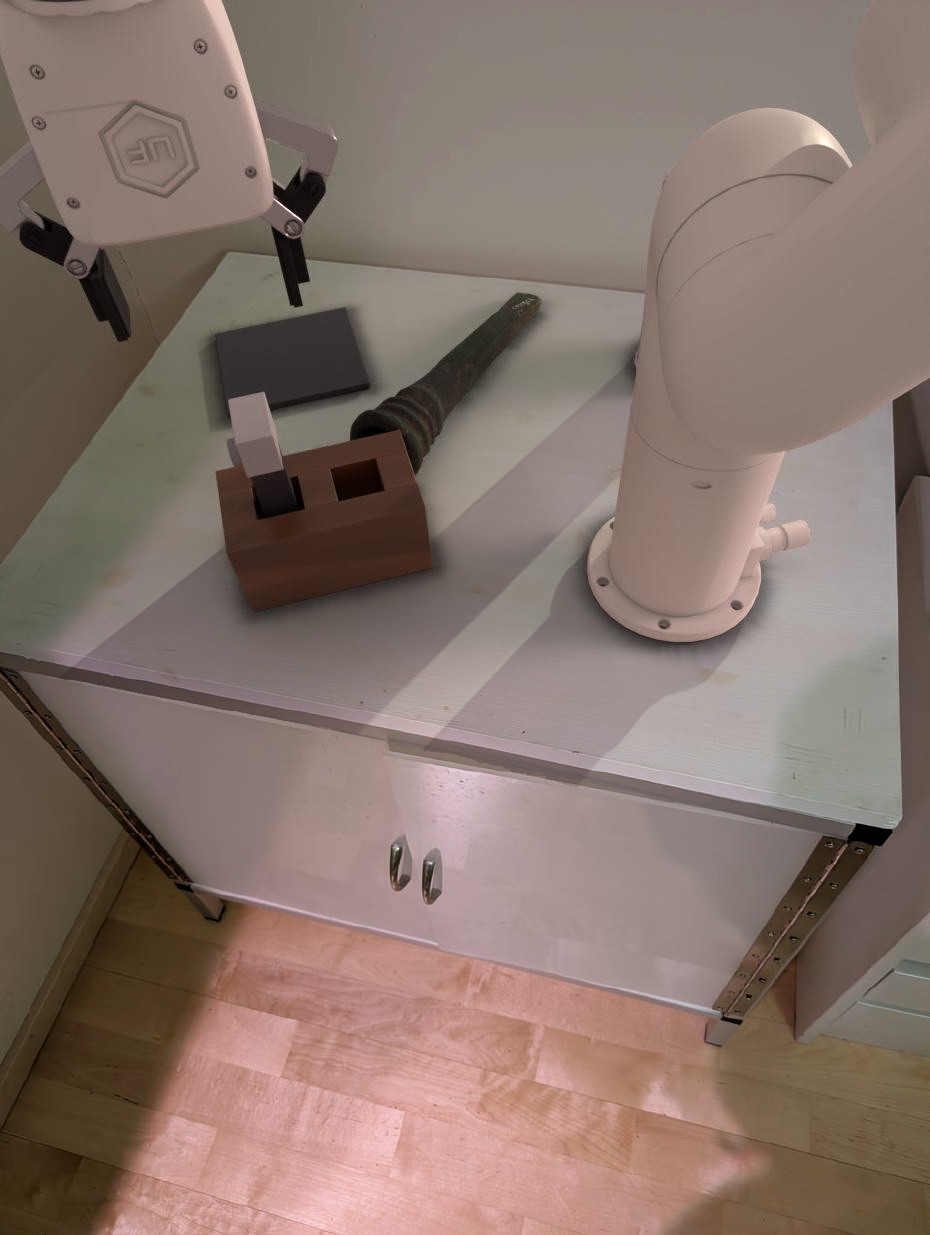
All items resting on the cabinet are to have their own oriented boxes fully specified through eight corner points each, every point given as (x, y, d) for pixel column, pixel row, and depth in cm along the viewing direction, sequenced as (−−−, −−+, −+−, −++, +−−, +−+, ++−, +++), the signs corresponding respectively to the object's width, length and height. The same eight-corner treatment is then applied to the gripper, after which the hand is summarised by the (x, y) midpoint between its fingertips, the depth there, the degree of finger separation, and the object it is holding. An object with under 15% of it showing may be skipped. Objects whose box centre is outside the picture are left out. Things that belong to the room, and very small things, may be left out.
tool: (414, 500, 68) (406, 440, 63) (351, 470, 71) (338, 410, 65) (578, 318, 81) (583, 255, 75) (520, 298, 83) (522, 235, 78)
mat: (346, 311, 83) (345, 306, 83) (370, 387, 77) (369, 382, 76) (216, 338, 82) (214, 333, 81) (229, 418, 75) (227, 413, 75)
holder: (240, 532, 67) (215, 470, 62) (409, 493, 69) (399, 429, 63) (252, 612, 63) (226, 553, 57) (433, 568, 64) (425, 506, 58)
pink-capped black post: (309, 534, 67) (264, 391, 55) (318, 576, 64) (272, 435, 52) (272, 543, 66) (218, 401, 55) (279, 585, 64) (225, 446, 52)
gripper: (-157, 6, 30) (53, 382, 44) (313, -62, 32) (372, 319, 46) (-128, -63, 35) (56, 301, 49) (286, -119, 36) (347, 246, 51)
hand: (210, 309), depth 47 cm, fingers open, 9 cm apart
